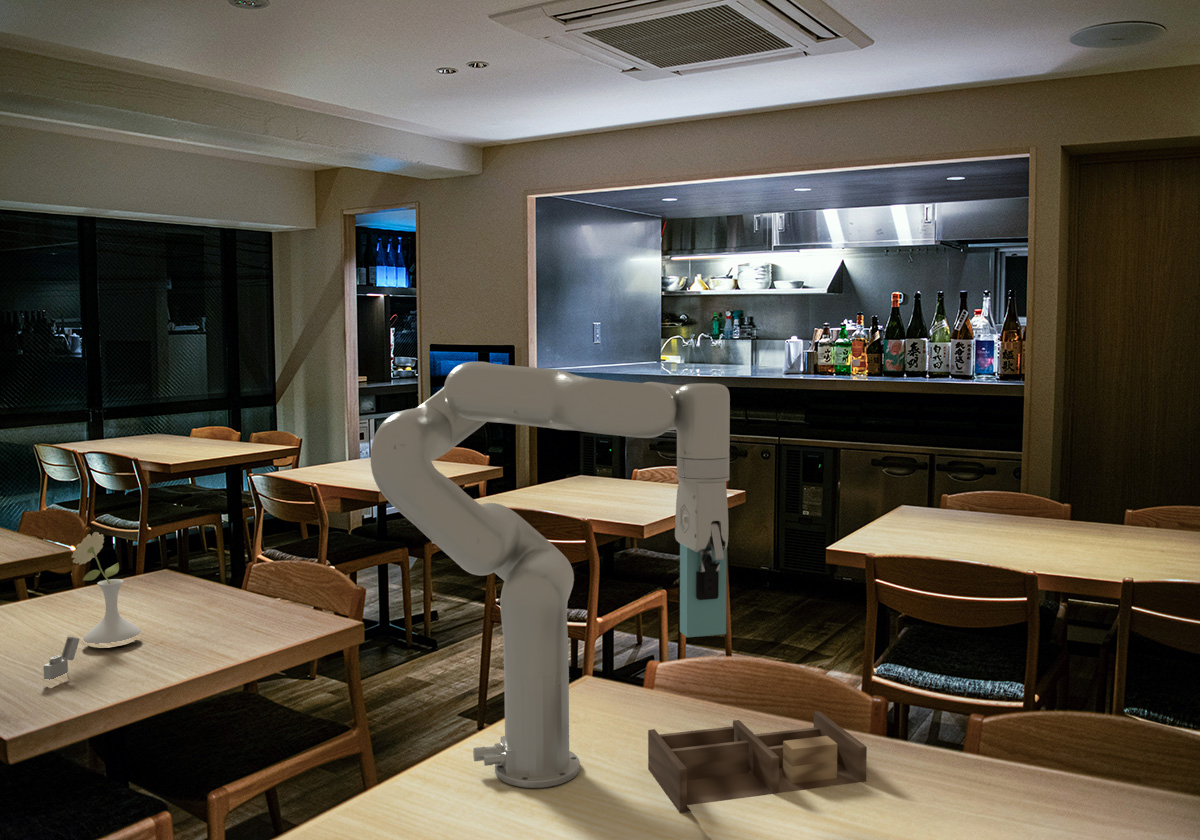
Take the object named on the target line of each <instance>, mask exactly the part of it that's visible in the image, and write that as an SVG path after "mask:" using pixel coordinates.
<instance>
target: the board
mask: <svg viewBox="0 0 1200 840" xmlns="http://www.w3.org/2000/svg"><path fill="white" fill-rule="evenodd" d="M707 549H711V546H706V548H705V549H703V550H707ZM727 549H728V548H726V549H725V550H723V554H724V559H723V560H722V561H721V562H720V563H719V564H720V570H719V596H718V598H717V599H707V600H698V599H697V598H696V572H699V561H698V552H694V551H692V550H690V549H689V548H688V547H686V546H685V545H683V544H681V543H679V632H680V633H681V634H682V635H683V636H685V637H686V638H695V637H698V638H699V637H707V636H708V637H710V636H719V635H720V636H721V635H727V553H728V551H727ZM707 556H710V555H705V559H706V557H707Z"/></svg>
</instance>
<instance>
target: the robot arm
mask: <svg viewBox="0 0 1200 840" xmlns="http://www.w3.org/2000/svg"><path fill="white" fill-rule="evenodd" d="M730 402H731V398H730V390H729V389H728V387H727V386H726V385H723V384H720V383H703V382H702V383H700V382H699V383H686V384H683V385H682V384H681V385H680V384H672V383H663V382H658V381H657V382H654V381H645V382H633V381H632V382H631V381H621V380H611V379H601V378H595V377H594V378H593V377H586V376H582V375H576V374H573V373H570V372H568V371H565V370H560V369H556V368H544V367H543V368H542V367H531V366H523V365H522V366H519V365H510V364H509V365H508V364H499V363H498V364H497V363H491V362H487V361H468V362H463V363H461V364H458V365H457V366H455V367H454V368H453V369H452V370H451V371H450V372H449V373H448V375H447V376H446V379H445V381H444V386H443V387H442V388H440V390H438V391H437V392H435V393H434V394H433V395H432V396H431V397H429V398H428V399H426V400H425V401H424V402H423V403H421V404H420V405H419V406H417V407H415V408H410V409H409V408H408V409H405V410H401V411H398V412H395V413H393V414H391V415H390V416H388V417H387V418H386V419H384V420H383V422H382V423H381V424H380V425H379V427H378V429H377V430H376V431H375V434H374V436H373V440H372V443H371V448H370V449H371V450H370V468H371V473H372V476H373V479H374V482H375V484H376V486H377V489H378V490H379V491H380V493H381V494H382V495H383V497H384V498H385V499H386V500H387V501H388V503H389V504H390V505H391V507H394V509H396V510H397V512H399V513H400V514H401V515H402V516H403V517H405V518H406V519H407V520H408V521H409V522H411V524H413V525H414V526H415V527H416V528H417V529H418V530H419V531H420V532H421V533H422V534H424V535H425V536H426V538H427V539H429V540H430V541H431V542H432V543H433V544H435V545H436V546H437V547H438V548H439V549H440V550H441V551H442V552H443V553H445V555H447V556H448V557H449V558H450V559H451V560H453V562H454V563H456V565H458V566H459V567H460V568H461V569H462V570H464V571H465V572H467V573H469V574H471V575H474V576H479V577H481V576H482V577H483V576H488V575H491V574H493V573H494V574H495V575H497V576H498V577H499V578H500V579H502V580H503V583H502V584H503V585H502V589H501V594H500V600H499V601H500V604H499V605H500V608H499V609H500V619H501V620H500V621H501V628H502V637H503V638H502V639H503V641H502V643H503V645H502V646H503V669H504V670H503V673H504V674H503V675H504V678H503V680H504V683H503V684H504V688H503V689H504V735H502V736H500V742H498V743H497V742H496V743H494V745H493V746H478V747H473V750H472V753H473V761H474V762H481V761H483V765H484V766H485V767H486V766H493V765H494V773H495V776H496V777H497V778H498V779H499V780H501V781H502V782H504V783H506V784H507V785H509V786H515V787H520V788H526V789H529V788H530V789H541V788H550V787H553V786H559V785H561V784H562V785H563V784H565V783H566V782H568V781H571V780H573V779H574V778H575V777H576V776H577V775H578V774H579V773H580V767H581V766H580V765H581V762H580V759H579V757H578V755H576V754H575V753H574V752H572V751H571V750H570V691H569V690H570V680H569V679H570V673H569V672H570V665H569V637H568V636H569V633H568V632H569V631H568V601H569V599H570V596H571V593H572V590H573V587H574V582H575V573H574V570H573V567H572V565H571V563H570V561H569V559H568V558H567V556H565V555H564V554H563V553H562V552H561V550H559V548H557V547H556V546H555V545H554V544H553V543H552V542H550V541H549V540H548V539H547V538H546V537H545V536H544V535H542V534H541V533H540V532H539V531H538V530H537V529H535V528H534V526H532V525H531V524H530V523H529V522H528V521H526V520H525V519H524V518H523V517H522V516H521V515H520V514H518V513H517V512H515V511H514V510H513V509H511V508H509V507H507V506H505V505H503V504H500V503H495V502H488V503H482V504H480V503H479V502H477V501H476V500H475V499H474V498H472V497H471V496H470V495H469V494H467V492H465V491H464V490H463V489H462V488H461V487H460V486H459V485H458V484H457V483H456V482H455V481H453V480H452V479H450V478H449V477H447V476H446V475H444V474H443V473H442V472H440V471H439V470H438V469H437V468H436V467H435V465H434V464H433V461H436V460H438V459H439V458H442V457H443V456H444V455H445V454H447V453H448V452H450V451H452V449H453V448H455V447H456V446H457V445H459V444H460V443H461V442H463V441H464V440H465V439H467V438H468V437H469V436H470V435H472V434H473V433H475V432H476V431H477V430H479V429H480V428H481V427H482V426H483V425H485V424H486V423H487V422H488V423H501V424H510V425H522V426H529V427H538V428H548V429H555V430H559V431H560V430H561V431H575V432H576V431H578V432H584V433H591V434H592V433H593V434H598V435H600V434H601V435H609V436H610V435H611V436H621V437H628V438H630V437H631V438H639V439H641V438H642V439H650V438H651V439H653V438H657V437H659V436H661V435H663V434H665V433H667V431H676V480H678V484H677V490H676V499H675V500H676V503H675V518H674V519H675V522H674V523H675V524H674V538H675V541H676V542H678V544H680V543H681V544H683V545H685V546H686V547H688V548H689V549H690V550H692V551H694V552H698V561H699V572H696V598H697V599H698V600H707V599H717V598H718V596H719V570H720V564H719V563H720V562H721V561H722V560H723V559H724V554H723V550H725V549H726V548H727V547H728V543H729V509H728V508H729V507H728V492H727V483H726V482H728V481H730V445H731V444H730V438H731V437H730V436H731V434H730V428H731V426H730V424H731V423H730V422H731V421H730V417H731V416H730V415H731V412H730V411H731V406H730V405H731V404H730ZM706 546H711V549H707V550H703V549H705V548H706ZM727 549H728V548H727ZM705 555H710V556H707V557H706V559H705Z"/></svg>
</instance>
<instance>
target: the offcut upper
mask: <svg viewBox="0 0 1200 840" xmlns="http://www.w3.org/2000/svg"><path fill="white" fill-rule="evenodd" d="M783 758H784V759H785V760H786V761H787V762H788V763H789V764H790V765H791V766H792V767H793V766H801V765H809V764H817V763H825V762H833V761H837V743H836V742H834V741H833V740H832V739H831V738H829V737H828V736H821V737H813V738H804V739H796V740H787V741H783Z"/></svg>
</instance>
